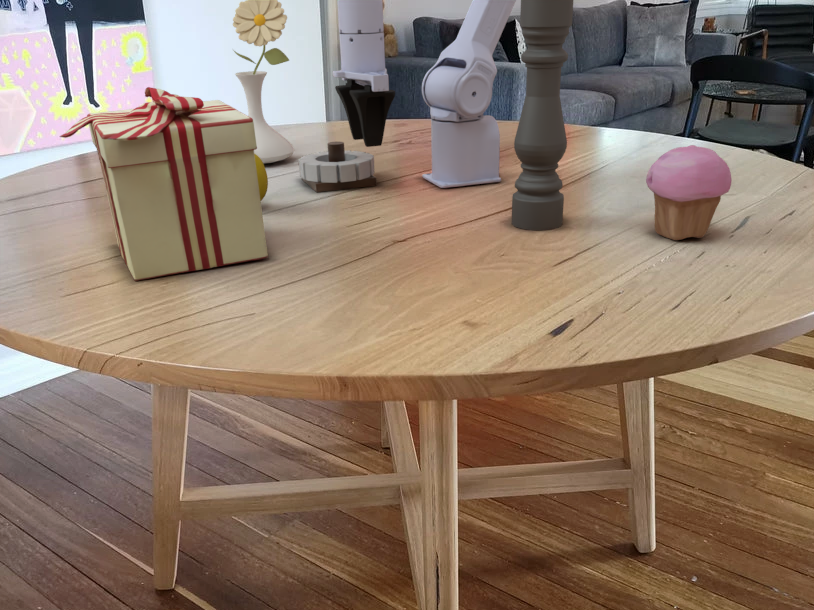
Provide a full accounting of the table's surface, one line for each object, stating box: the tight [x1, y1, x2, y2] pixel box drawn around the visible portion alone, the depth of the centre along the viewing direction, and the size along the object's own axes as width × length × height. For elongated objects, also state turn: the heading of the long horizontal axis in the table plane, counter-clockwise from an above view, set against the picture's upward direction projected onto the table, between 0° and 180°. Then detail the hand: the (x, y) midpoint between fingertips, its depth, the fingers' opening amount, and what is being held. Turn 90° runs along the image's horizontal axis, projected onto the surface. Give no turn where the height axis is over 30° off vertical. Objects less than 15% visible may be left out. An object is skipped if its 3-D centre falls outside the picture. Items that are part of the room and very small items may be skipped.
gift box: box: [59, 86, 269, 282], centre depth 88 cm, size 17×18×17 cm
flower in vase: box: [232, 0, 295, 165], centre depth 131 cm, size 13×11×25 cm
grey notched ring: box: [298, 149, 376, 183], centre depth 121 cm, size 11×11×2 cm
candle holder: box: [511, 0, 574, 231], centre depth 94 cm, size 6×6×25 cm
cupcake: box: [645, 144, 732, 241], centre depth 91 cm, size 9×9×10 cm
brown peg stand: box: [301, 141, 377, 193], centre depth 121 cm, size 9×9×6 cm
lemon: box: [254, 154, 269, 202], centre depth 108 cm, size 6×6×8 cm
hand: (367, 142), depth 112 cm, fingers open, 5 cm apart
